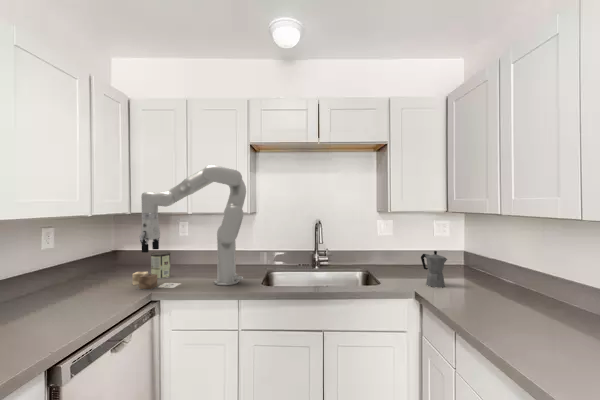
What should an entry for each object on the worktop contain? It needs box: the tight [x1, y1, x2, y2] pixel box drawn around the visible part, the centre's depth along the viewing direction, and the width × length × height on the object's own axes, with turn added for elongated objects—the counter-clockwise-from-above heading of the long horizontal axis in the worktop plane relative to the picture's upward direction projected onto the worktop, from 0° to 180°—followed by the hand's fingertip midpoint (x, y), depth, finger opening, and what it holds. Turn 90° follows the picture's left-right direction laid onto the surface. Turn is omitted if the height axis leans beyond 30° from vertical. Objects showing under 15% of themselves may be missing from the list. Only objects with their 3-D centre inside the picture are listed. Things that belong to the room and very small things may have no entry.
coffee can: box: [150, 251, 171, 280], centre depth 193 cm, size 10×10×14 cm
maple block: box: [132, 271, 149, 286], centre depth 179 cm, size 6×6×6 cm
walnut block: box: [138, 273, 158, 290], centre depth 170 cm, size 6×6×6 cm
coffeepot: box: [420, 250, 448, 288], centre depth 178 cm, size 15×9×18 cm, turn 33°
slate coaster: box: [135, 285, 160, 291], centre depth 170 cm, size 8×8×1 cm
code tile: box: [158, 282, 182, 289], centre depth 175 cm, size 9×9×1 cm
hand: (150, 250), depth 171 cm, fingers open, 9 cm apart
